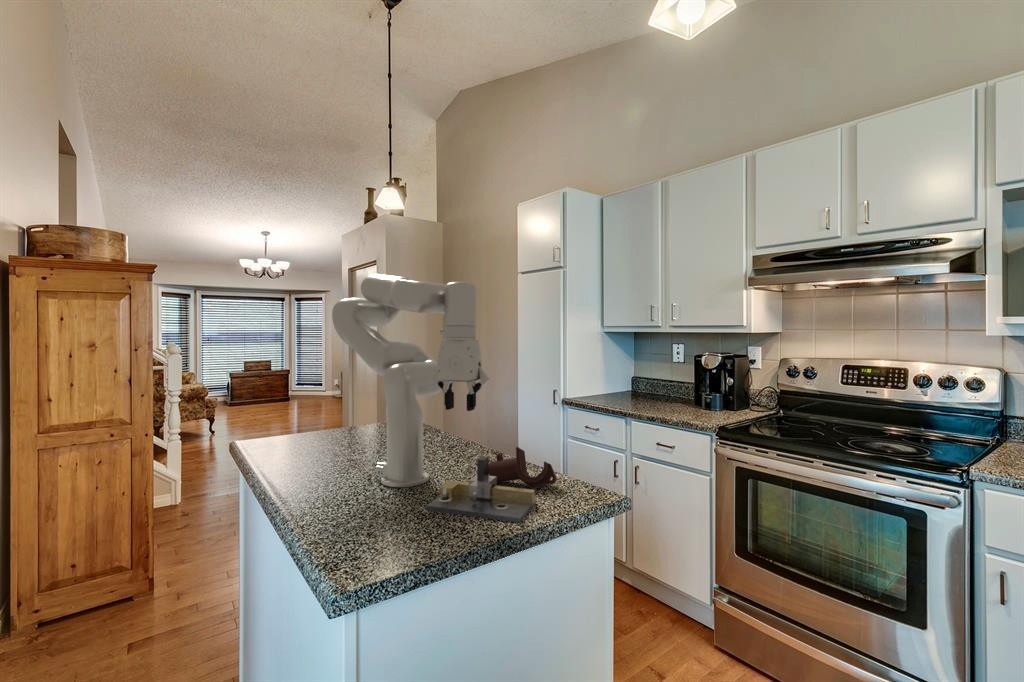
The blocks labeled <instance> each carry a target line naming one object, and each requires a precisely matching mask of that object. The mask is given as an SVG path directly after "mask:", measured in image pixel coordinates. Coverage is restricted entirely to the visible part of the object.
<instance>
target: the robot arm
mask: <svg viewBox="0 0 1024 682" xmlns="http://www.w3.org/2000/svg"><path fill="white" fill-rule="evenodd" d="M360 292H361V294H362V296H363V297H348V298H342V299H341V300H339V301H337V302H336V303H335V304H334V305H333V307H332V310H331V320H332V325H333V326H334V330H335V332H336V334H337V335H338V336H339V338H340V339H341V340H342V341H343V342H344V343H345V344H346V345H347V346H349V347H350V348H351V349H352V350H353V351H354V352H355V353H357V354H358V356H359V357H360V359H362V361H364V362H365V363H366V365H368V367H370V369H371V370H372V371H373V372H374V373H375V374H377V375H379V376H383V377H382V386H383V392H384V396H385V404H386V405H385V406H386V462H384V461H383V462H382V461H378V462H377V463H376V465H375V469H374V470H375V472H382V476H381V477H380V483H381V485H384V486H386V487H391V488H409V487H410V488H412V487H416V486H420V485H423V484H424V483H427V482H428V481H429V479H430V478H429V477H430V475H429V473H427V472H426V471H424V415H423V409H422V407H421V405H420V404H419V401H418V400H417V398H419V397H427V396H428V397H429V396H433V395H437V394H439V393H440V392H441V391H442V393H443V394H444V406H445V410H446V411H449V410H451V409H454V407H455V392H454V391H453V387H454V383H455V382H458V383H459V382H463V383H466V385H467V389H468V390H467V391H468V393H467V394H466V411H468V412H472V411H473V410H475V408H476V405H477V393H478V392H479V391H480V390H481V388H482V387H483V386H485V385H486V384H487V383H489V382H490V378H489V377H488V374H486V372H485V371H484V369H483V363H482V353H481V346H480V341H479V339H477V288H476V285H475V284H474V283H473V282H468V281H451V282H448V283H447V284H446V283H439V282H430V281H422V280H421V281H420V280H412V279H410V278H409V277H406V276H398V275H390V274H382V273H373V274H370V275H368V276H366V277H365V278H363V280H362V281H361V284H360ZM402 311H407V312H412V313H420V314H426V313H427V314H436V315H437V314H439V315H444V326H443V328H440V330H439V334H440V336H441V335H443V337H444V339H440V344H439V348H438V354H437V355H438V356H437V361H436V360H435V359H434V358H433V357H432V356H431V355H429V353H427V351H426V350H425V349H423V348H422V347H421V346H420V345H419V344H416V343H413V342H410V341H391V340H388V339H387V338H385V337H384V336H383V335H382V334H381V333H380V332H379V331H377V330H375V329H374V328H375V327H376V328H380V327H385V326H388V325H389V324H390V323H391V322H393V320H394V319H395V318H396V317H397V316H398V315H399V314H400V313H401V312H402ZM476 381H477V382H476Z"/></svg>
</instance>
